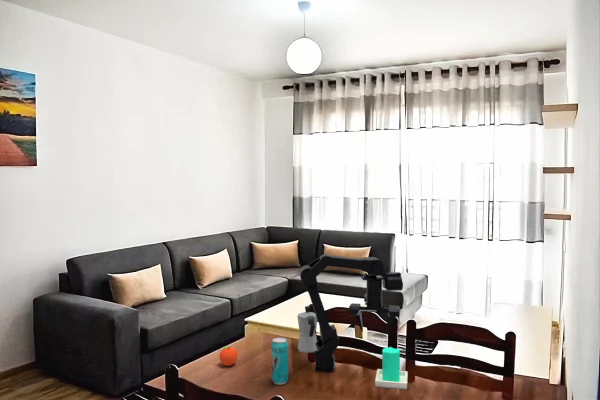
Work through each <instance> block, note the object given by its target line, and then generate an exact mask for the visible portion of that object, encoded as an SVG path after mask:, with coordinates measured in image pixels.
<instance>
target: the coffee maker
mask: <svg viewBox="0 0 600 400" xmlns="http://www.w3.org/2000/svg"><path fill="white" fill-rule="evenodd" d="M304 310H305V312H300V313H298V314H297V324H298V330H299V337H298V338H299V339H298V344H297V350H298V352H300V353H305V354H308V353H309V354H311V353H316V352H315V351H317V348H316V345H315V343H316V342H317V341H318V339H317V334H316V330H317V326H318V320H317V317H316V314H315V312H313V311H310V310H311V306H309V305H306V306H304Z"/></svg>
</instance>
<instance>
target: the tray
mask: <svg viewBox="0 0 600 400" xmlns="http://www.w3.org/2000/svg"><path fill="white" fill-rule="evenodd" d="M408 372H409V371H406V370H400V381H399V382H393V381H383V380H382V368H381V369H380V368H377V369H376V373H375V380H374V383H375V385H374V387H375V388H385V389H386V388H387V389H396V390H397V389H398V390H408V379H409V378H408Z"/></svg>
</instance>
